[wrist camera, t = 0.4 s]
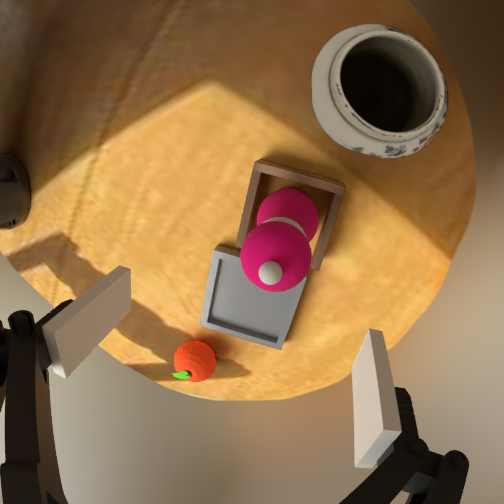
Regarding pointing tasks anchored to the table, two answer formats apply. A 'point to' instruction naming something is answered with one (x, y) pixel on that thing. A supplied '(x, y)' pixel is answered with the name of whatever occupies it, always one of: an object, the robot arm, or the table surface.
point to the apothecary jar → (379, 91)
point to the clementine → (194, 361)
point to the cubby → (301, 177)
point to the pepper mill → (280, 241)
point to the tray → (246, 303)
